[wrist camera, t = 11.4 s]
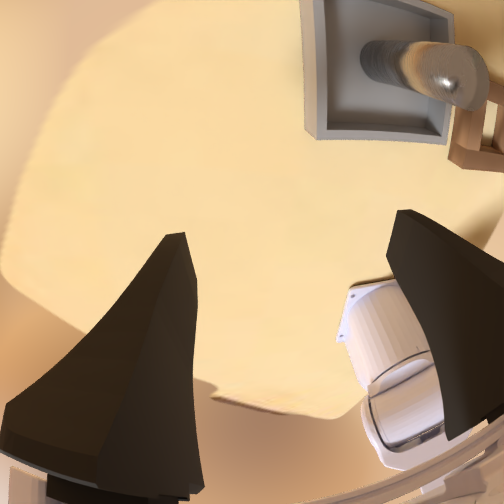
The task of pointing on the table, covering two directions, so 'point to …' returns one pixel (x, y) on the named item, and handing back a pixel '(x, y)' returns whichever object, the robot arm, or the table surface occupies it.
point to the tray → (357, 82)
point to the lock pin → (429, 70)
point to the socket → (479, 136)
